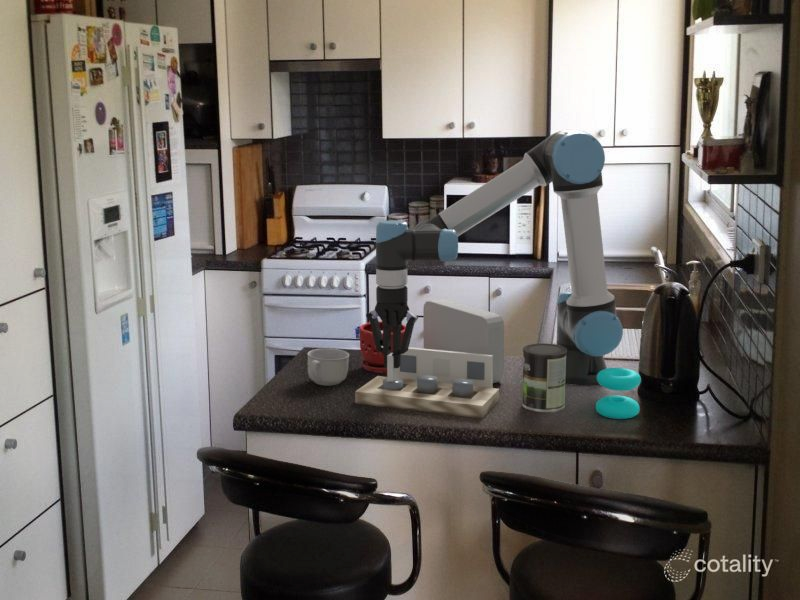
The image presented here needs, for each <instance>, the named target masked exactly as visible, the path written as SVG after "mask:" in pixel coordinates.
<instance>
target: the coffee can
mask: <svg viewBox="0 0 800 600" xmlns="http://www.w3.org/2000/svg"><path fill="white" fill-rule="evenodd" d="M522 352H523V353H522V354H523V358H522V361H523V363H522V367H523V369H522V403H521V405H522V407H523V408H524V409H526V410H528V411H531V412H535V413H536V412H537V413H555V412H560V411H563V409H565V406H566V404H565V402H566V401H565V399H566V384H565V377H566V354H567V349H566V348H565V347H563V346H560V345H557V344H554V343H543V342H542V343H531V344H527V345H525V346H523V348H522Z"/></svg>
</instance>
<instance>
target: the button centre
mask: <svg viewBox="0 0 800 600" xmlns="http://www.w3.org/2000/svg"><path fill="white" fill-rule="evenodd" d="M417 391H418V392H421V393H434V392H437V391H438V378H437V377H436V376H431V375H423V376H419V377H417Z"/></svg>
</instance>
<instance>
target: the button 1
mask: <svg viewBox="0 0 800 600" xmlns="http://www.w3.org/2000/svg"><path fill="white" fill-rule="evenodd" d="M383 389H386V390H395V391H401V390H402V389H403V380H402V379H398V378H397V379H396V380H395V381H394V382H389V381H387V379H384V380H383Z"/></svg>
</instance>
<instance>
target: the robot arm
mask: <svg viewBox="0 0 800 600" xmlns="http://www.w3.org/2000/svg"><path fill="white" fill-rule="evenodd" d="M605 154H606V153H605V150H604V148H603V146H602V144H601V142H600V140H598V139H597V138H596V137H595V136H594V135H592V134H591V133H588V132H587V131H583V130H572V129H562V130H558V131H556V132H554V133H552V134H550V135H549V136H548V137H546V138H545V139H543V140H542V141H541V142H540V143H538V144H537V145H535V146H534V147H533V148H531V149H530V150H528V151H526V152H525V153H524V155H523V158H522V159H521V160H520V161H519V162H517V163H515V164H514V165H512V166H511V167H509V168H508V169H506V170H505V171H503V172H501V173H500V174H497V176H495V177H494V178H492V179H490V180H489V181H488V182H486V183H484V184H483V185H481V186H480V187H479V188H476V189H474V190H473V191H472V192H470V193H469V194H466V195H465V196H464V197H462V198H460V199H459V200H458V201H456V202H455V203H453V204H451V205H450V206H448V207H446V208H445V209H444V210H442V211H441V212H438V213H437V214H436V215H434V216H433V217H431V218H429V219H428V220H423V221H420V222H419V223H418V224H416V226H415V227H414V229H409V225H408V223H407V222H406V221H403V220H382V221H379V222H378V223H377V225H376V227H375V228H376V231H375V264H376V266H375V270H376V271H375V283H376V285H377V287H376V288H375V290H376V291H375V294H376V295H375V296H376V298H375V299H376V300H375V301H376V305H375V307H374V309H372V310H370V311H369V312H367V313H366V314H365V316H366V318H367V320H368V321H369V322H370V325H371V329H372V333H373V338H374V342H375V346H376V350H377V351H378V352H379V351H380V352H382V353H383V354H384V367H387V373H386V375H387V376H386V377H387V381H389V382H394V381H395V380H396V379H397V368H399V367H400V365H401V363H400V362H401V358H400V356H401V354H404V353H405V352H407V351H408V348H409V347H410V343H411V339H412V334H413V330H414V327H415V324H416V323H417V321H418V319H419V315H417V314H414V313H412V312H411V311H410V307H409V304H408V293H409V292H408V291H409V290H408V287H407V284H408V262H420V261H421V262H427V261H428V262H442V263H443V262H444V263H445V261H447V262H448V261H455V260H456V259H457V258H458V255H459V254H458V253H459V236H461V235H462V234H464V233H466V232H467V231H469V230H471V229H472V228H474V227H475V226H476V225H478V224H480V223H481V222H483V221H485V220H486V219H488V218H490V217H491V216H493V215H495V214H496V213H497V212H499V211H500V210H502V209H504V208H506V207H507V206H509V205H510V204H512V203H513V202H515V201H517V200H518V199H520V198H521V197H523V196H524V195H526V194H527V193H529V192H531V191H532V190H534V189H535V188H537V187H539V186H540V187H541V186H542V187H547V186H548V185H549V184H551V183H552V190H553V193H555V194H556V195H557V196H558V197H559V199H560V203H561V210H562V211H561V212H562V221H563V228H564V236H565V238H564V239H565V246H566V257H567V263H568V272H569V281H570V282H569V283H570V289H571V290H570V291H569V290H568V291H566V290H565V291H562V292H559V294H558V297H557V303H556V307H557V308H556V309H557V310H556V311H557V312H556V313H557V314H556V317H557V318H556V345H560V346H563V347H565V348H566V349H567V354H566V377H565V385H572V386H594V385H595V386H596V385H600V384H599V383H598V381H597V374H598V373H599V372H600V371H601V370H604V369H608V367H607V363H606V361H605V360H606V359H605V356H606V355H608V354H610V353H612V352H613V351H615V350H616V349H617V348H618V346H619V345H620V343H621V341H622V339H623V334H624V330H623V328H624V327H623V325H622V322H621V320H620V317H618V316H617V315H618V314H617V306H616V297H615V295H614V294H612V293H611V292H610V291H609V290H608V284H607V275H606V274H607V273H606V265H605V264H606V263H605V255H604V247H603V246H604V245H603V237H602V228H601V217H600V216H601V215H600V209H599V208H600V207H599V199H598V198H599V197H598V193H599V191H600V190H601V189H602V188H603V186H604V183H603V174H602V173H603V172H602V171H603V169H604V167H605V161H606V155H605ZM378 317H379V318H378ZM405 318H406V324H405V326H406V327H405V331H404V336H403V340H402V344H401V326H402V324H403V321H404V320H405ZM379 319H380V320H381V321H382V327H383V331H382V330H381V329H380V325H379V322H380V321H379ZM369 322H368V323H369ZM391 326H392V328H393V353H391V351H392V350H391ZM381 333H383V338H382V334H381Z"/></svg>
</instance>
